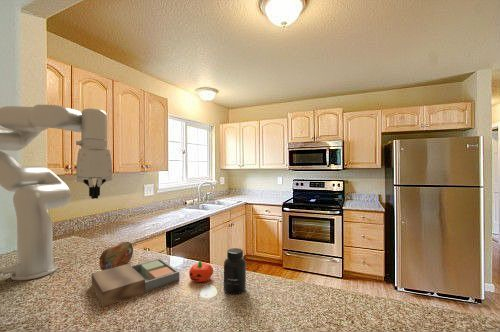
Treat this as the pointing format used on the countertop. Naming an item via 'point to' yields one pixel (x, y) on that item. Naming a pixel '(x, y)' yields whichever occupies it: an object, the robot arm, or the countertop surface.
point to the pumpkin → (200, 272)
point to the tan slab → (117, 284)
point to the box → (160, 280)
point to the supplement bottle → (234, 272)
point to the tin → (116, 255)
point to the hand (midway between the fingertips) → (94, 198)
